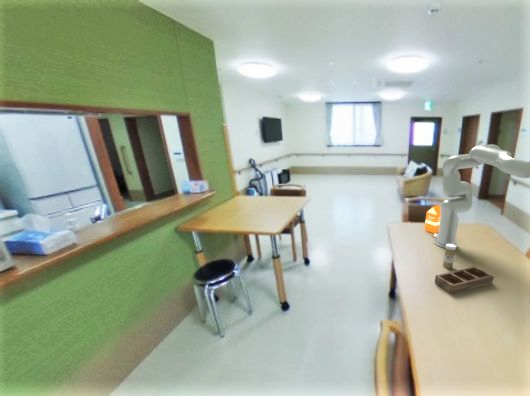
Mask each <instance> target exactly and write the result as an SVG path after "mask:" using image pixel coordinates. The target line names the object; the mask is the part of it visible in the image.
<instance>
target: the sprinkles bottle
mask: <svg viewBox="0 0 530 396" xmlns="http://www.w3.org/2000/svg"><path fill="white" fill-rule="evenodd" d="M456 250H457V248H456V246H455V245H453V244H446V248H444V255H443V261H442V266H443V267H445V268H447V269H452V268H453V264H454V259H455V255H456Z"/></svg>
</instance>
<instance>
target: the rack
mask: <svg viewBox="0 0 530 396" xmlns="http://www.w3.org/2000/svg"><path fill="white" fill-rule="evenodd" d="M494 277H495V276H494V275H493V274H491V273H489V272H487V271H485V270H482V269H480V268H478V267H476V266H475V265H474V266H470V267H466V268H462V269H457V270H454V271H453V270H452V271H449V272H445V273H440V274H436V275H435V278H434V284H435V285H437V286H438V287H440V288H442V289H443V290H445V291H447V292H448V293H449V294H451V295H453V294H457V293H461V292H465V291H469V290H473V289H478V288H481V287H485V286H489V285H493V283H494Z"/></svg>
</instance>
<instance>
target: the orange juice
mask: <svg viewBox="0 0 530 396" xmlns="http://www.w3.org/2000/svg"><path fill="white" fill-rule="evenodd" d="M440 205H441V204H438V205H434V206H432V207H431V208H430V209H429V210H427V211H426V215H425V221H424V231H426V230H427V231H426V232H430V233H432V234H435V233H436V234H438V231H439V224H440V216H441V212H440Z"/></svg>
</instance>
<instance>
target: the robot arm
mask: <svg viewBox="0 0 530 396" xmlns="http://www.w3.org/2000/svg"><path fill="white" fill-rule="evenodd" d="M484 164H486V165H489V166H493V167H496V168H497V169H498V170H500V171H501V172H503V173H504V174H508V175H511V176H515V177H516V178H517V177H518V178H522V179H530V160H529V161H525V160H521V159H517V158H513V157H512V153H511V151H509V150H504V149H501V147H500V146H498V145H496V144H491V143H490V144H480V145H475V146H474V147H472V148H471V149H470V151H469V153H465V154H458V155H457V154H456V155H452V156H450V157H447V158H446V159H445V160H444V161H443V162H442V165H441V167H442V176H443V177H442V191H443V192H442V193H443V196H444V197H446V198H450V199H446V200H444V201H442V202H441V203H440V204H439V205H440V212H441V216H440V224H439V231H438V232H437V233H433V235H432V237H433V238H435V239H434V241H433V243H434V244H435V245H436V246H438V247H440V248H442V249H443V248H444V249H446V244H453V245H455V246H456V249H457V248H458V247H459V245H458V243H457V242H456V240H457V233H458V227H459V217H458V214H461V213H467V212H469V211H470V210H471V209H472V207H473V187H472V185H471V183H469V182H468V181H463V180H461V178H462V177H461V174H460V172H459V170H462V169H463V170H464V169H470V168H475V167H478V166H481V165H484Z"/></svg>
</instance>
